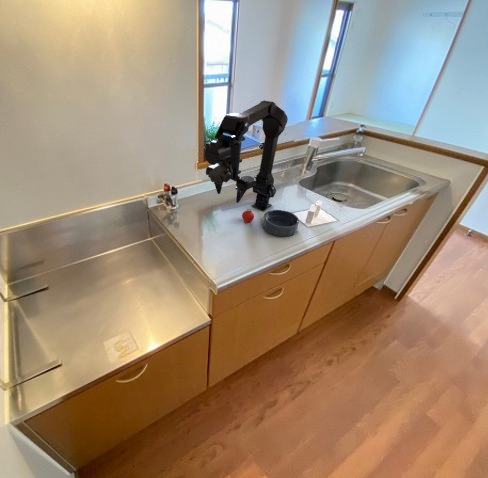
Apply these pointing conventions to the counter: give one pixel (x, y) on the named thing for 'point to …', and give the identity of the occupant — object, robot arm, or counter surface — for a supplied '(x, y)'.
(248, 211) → the tomato
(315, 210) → the napkin holder
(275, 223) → the bowl
